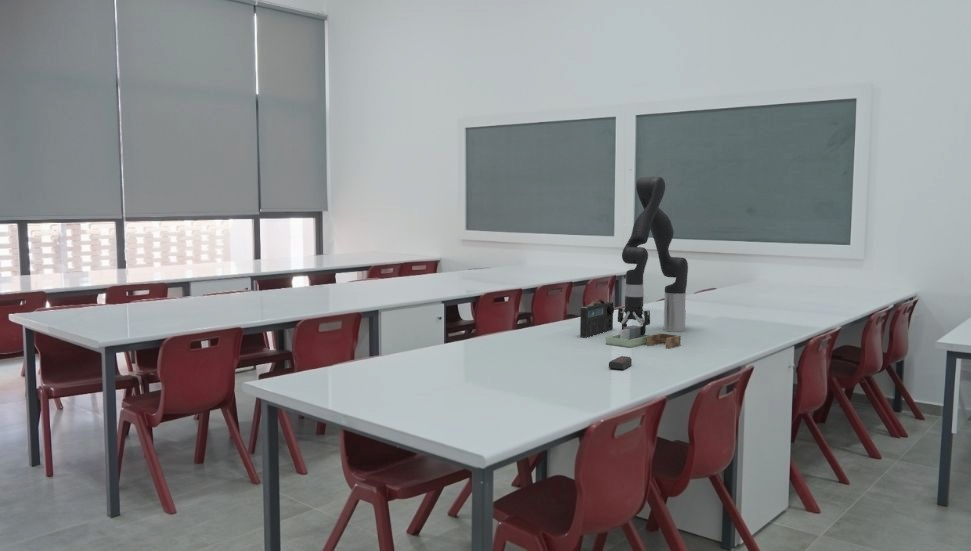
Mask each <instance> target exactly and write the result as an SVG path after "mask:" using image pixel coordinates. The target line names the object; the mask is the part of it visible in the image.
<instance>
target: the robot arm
mask: <svg viewBox="0 0 971 551" xmlns="http://www.w3.org/2000/svg"><path fill="white" fill-rule="evenodd" d="M635 184H636V185H635V186H636V188H635V190H636V193H637V196H638V198H639V201H640V203H641V206H642V208H643V210H642V212H641V213H640V214H639V215H638V216H637V217H636V219H635V221H634V223H633V227H632V230H631V235H630V237H629V239H627V240H628V241H627V242H626V244H625V246H624V248H623V249H622V253H621V259H622V261H623V262H624V263H625V264H627V265H636V266H635V268H634V269H633V268H632V269H628V270H627V271H626V274H625V290H624V306H625V308H624V307H618V311H617V322H618V323H620V324H621V330H624V327H627V326H628V322H629V321H630V320H634V321H637V322H638V323H639V326H640V335H644V334H646V332H647V331H646V330H647V329H646V326H650V324H651V310H649V309H647V310H644V308H643V307H644V292H645V291H644V274H645V269H646V266H647V263H648V260H649V252H648V250H647V249H646V248H645V247H644V246H643V247H642V246H641V245H645V244H647V243H648V241H649V238H650V237H649V236H650V232H651V235H652V237H653V241H654V244H655V248H656V252H657V255H658V260H659V265H660V266H659V267H660V270H661V273H662V275H663V276H664V277H665V278H673V279H675V281H674V282H673V283H672V284H668V285H665V287H664V307H663V308H664V309H663V331H665V332H670V333H671V332H672V333H682V332H685V330H686V317H687V316H686V312H687V311H686V290H687V286H688V275H689V274H688V270H689V263H688V261H687V259H686V258H685V257H681V256H680V257H679V256H672V255H670V252H669V251H670V249H669V248H670V245H671V243H672V241H673V238H674V233H675V232H674V229H673V228H674V227H673V225H672V221H671V219H670V217H669V216H668V215H667V214H666V213H665V212H664V211H663V210H662V209H661V208H660V205H661V202H662V199H663V197H664V195H665V191H666V183H665V179H664V178H663V177H662V176H642V177H640V178H638V179H637V181H636V183H635ZM624 314H625V315H624Z"/></svg>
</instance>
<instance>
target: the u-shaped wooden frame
mask: <svg viewBox="0 0 971 551" xmlns="http://www.w3.org/2000/svg"><path fill="white" fill-rule="evenodd" d="M649 335H650V336H647V344H646V346H648V347H650V345H652V346H655V345H654V344H656V345H659V344H658V343H660V344H661V343H666V344H665V349H667V348H668V349H672V348H671V347H673V348H675V347H674V346H677V347H679V346H678V345H680V346H681V343H682V342H681V340H682V338H681V335H678V334H668V333H654V334H649Z"/></svg>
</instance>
